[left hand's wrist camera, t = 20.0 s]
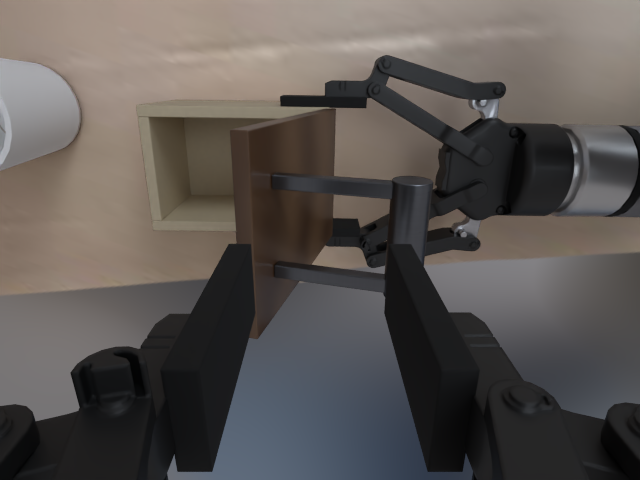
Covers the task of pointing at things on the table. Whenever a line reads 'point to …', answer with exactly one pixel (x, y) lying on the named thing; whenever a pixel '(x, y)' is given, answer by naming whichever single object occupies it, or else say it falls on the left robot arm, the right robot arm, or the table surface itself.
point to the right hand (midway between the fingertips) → (283, 167)
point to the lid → (308, 207)
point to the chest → (196, 158)
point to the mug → (34, 112)
